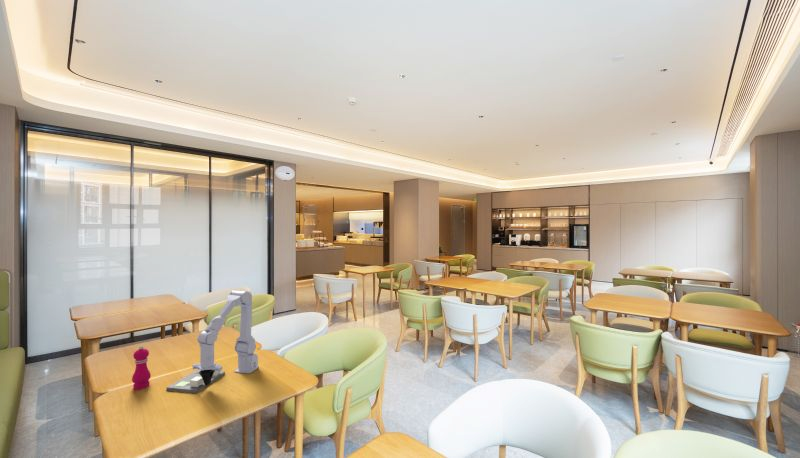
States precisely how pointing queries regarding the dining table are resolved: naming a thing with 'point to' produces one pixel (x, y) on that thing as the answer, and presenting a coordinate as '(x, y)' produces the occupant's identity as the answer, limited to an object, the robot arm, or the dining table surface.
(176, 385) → the switch board
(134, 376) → the pepper mill
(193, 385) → the left knob
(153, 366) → the dining table surface
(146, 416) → the dining table surface
